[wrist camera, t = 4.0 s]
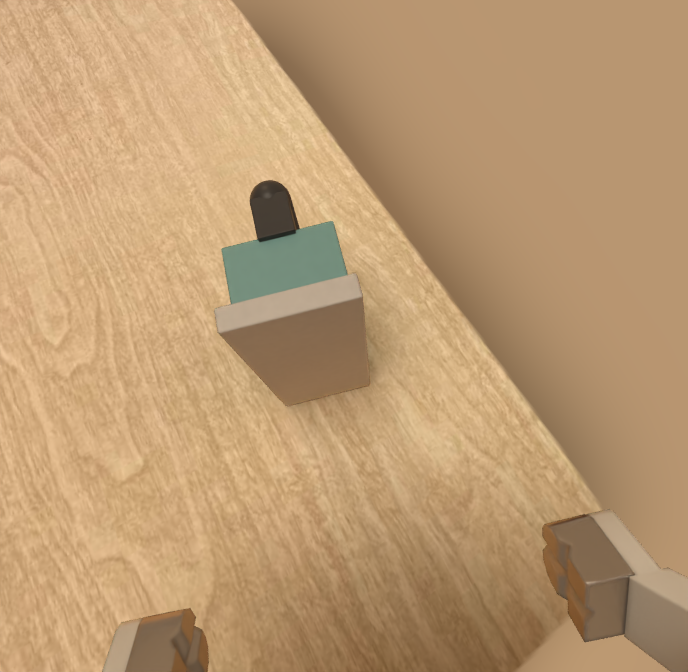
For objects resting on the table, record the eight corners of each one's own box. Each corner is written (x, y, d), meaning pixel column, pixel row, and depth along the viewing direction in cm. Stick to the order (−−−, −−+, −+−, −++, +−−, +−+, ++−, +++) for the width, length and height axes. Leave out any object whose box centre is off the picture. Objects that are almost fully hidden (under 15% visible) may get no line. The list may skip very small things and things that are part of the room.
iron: (370, 385, 29) (363, 296, 17) (285, 406, 29) (217, 333, 17) (341, 276, 32) (316, 130, 19) (263, 295, 32) (189, 161, 19)
